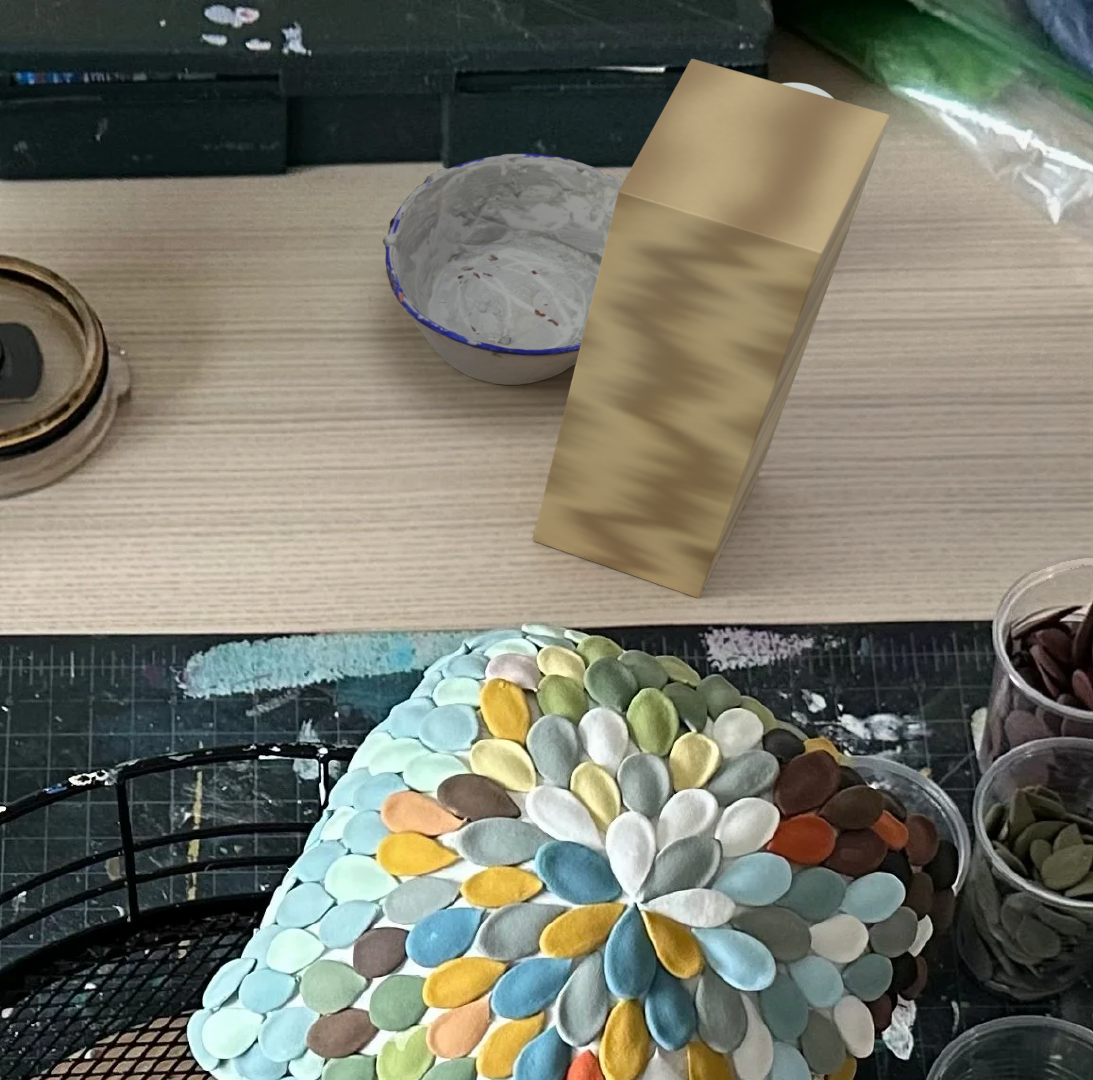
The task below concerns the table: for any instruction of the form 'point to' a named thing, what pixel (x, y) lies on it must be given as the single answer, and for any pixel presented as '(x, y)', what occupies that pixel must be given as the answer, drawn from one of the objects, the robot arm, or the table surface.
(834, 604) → the table surface
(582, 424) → the stand
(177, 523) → the table surface
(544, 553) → the table surface
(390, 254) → the bowl
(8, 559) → the table surface
